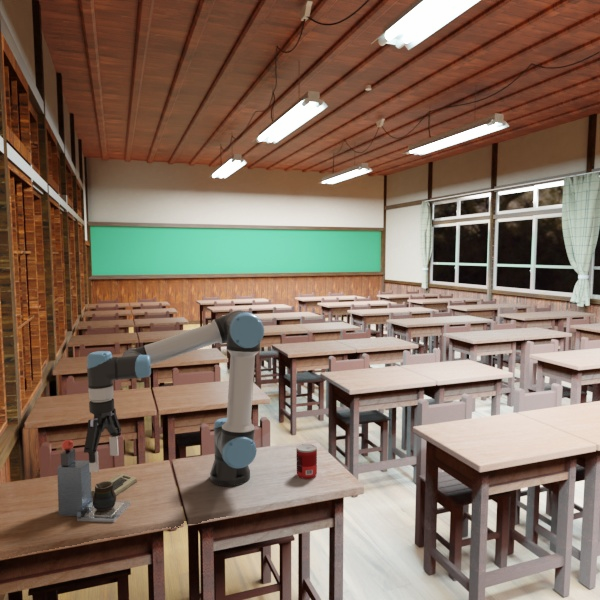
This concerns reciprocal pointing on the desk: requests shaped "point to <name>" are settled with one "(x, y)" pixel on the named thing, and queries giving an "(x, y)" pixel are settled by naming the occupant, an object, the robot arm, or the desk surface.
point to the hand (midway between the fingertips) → (104, 463)
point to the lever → (67, 453)
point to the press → (82, 495)
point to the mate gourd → (104, 496)
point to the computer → (120, 483)
